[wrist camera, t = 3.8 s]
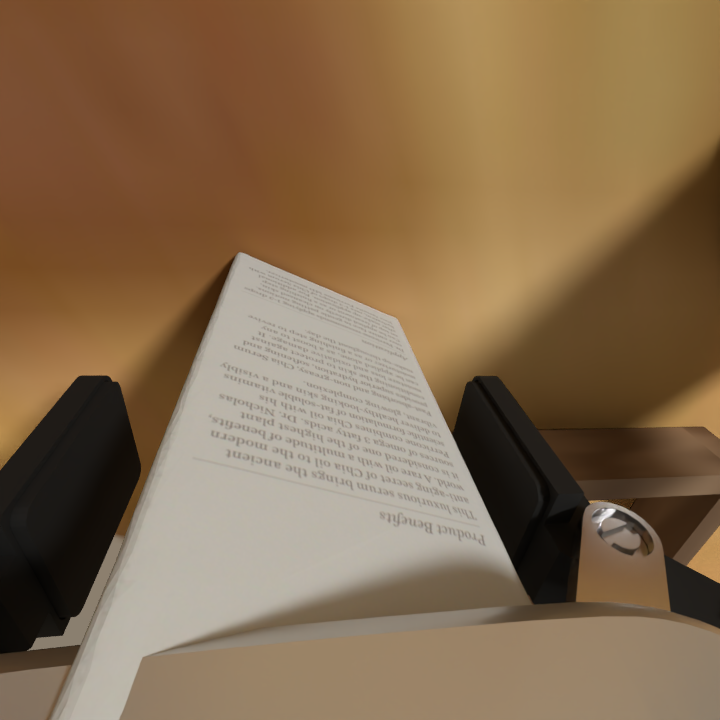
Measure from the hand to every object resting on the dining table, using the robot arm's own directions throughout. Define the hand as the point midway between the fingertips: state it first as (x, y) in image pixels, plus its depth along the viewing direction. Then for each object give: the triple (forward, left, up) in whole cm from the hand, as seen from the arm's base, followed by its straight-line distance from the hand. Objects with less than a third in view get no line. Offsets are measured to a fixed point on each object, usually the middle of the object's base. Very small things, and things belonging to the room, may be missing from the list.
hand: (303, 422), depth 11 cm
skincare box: (0, 0, -5) cm, 5 cm away
